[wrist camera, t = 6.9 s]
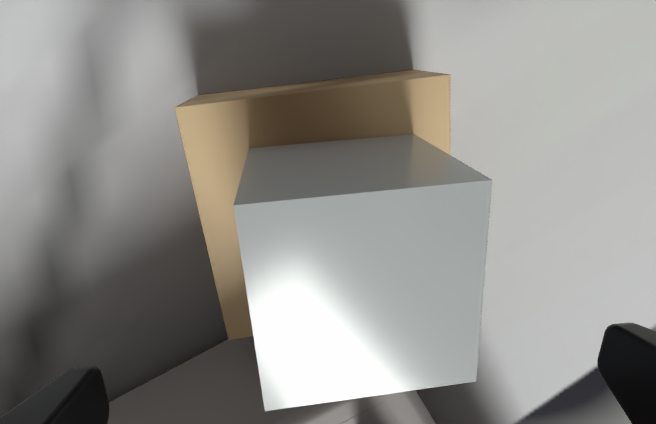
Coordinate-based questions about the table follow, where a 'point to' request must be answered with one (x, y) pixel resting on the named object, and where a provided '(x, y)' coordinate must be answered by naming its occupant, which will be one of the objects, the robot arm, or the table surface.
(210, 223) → the oak block
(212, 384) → the organizer tray
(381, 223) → the stone cube
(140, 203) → the table surface
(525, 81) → the table surface
